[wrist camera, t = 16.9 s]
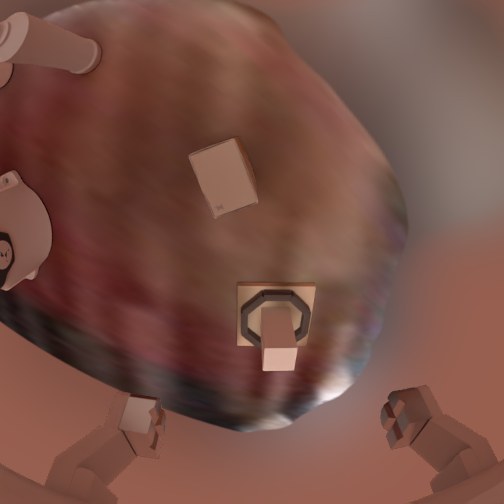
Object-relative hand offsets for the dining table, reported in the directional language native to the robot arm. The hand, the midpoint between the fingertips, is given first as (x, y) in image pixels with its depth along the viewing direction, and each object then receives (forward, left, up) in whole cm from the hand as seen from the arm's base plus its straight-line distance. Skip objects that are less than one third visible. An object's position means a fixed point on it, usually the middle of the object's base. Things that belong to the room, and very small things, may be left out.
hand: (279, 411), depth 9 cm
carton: (+3, -18, -30) cm, 35 cm away
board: (+3, -18, -31) cm, 36 cm away
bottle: (-23, +20, -31) cm, 44 cm away
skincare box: (-3, +4, -31) cm, 32 cm away
